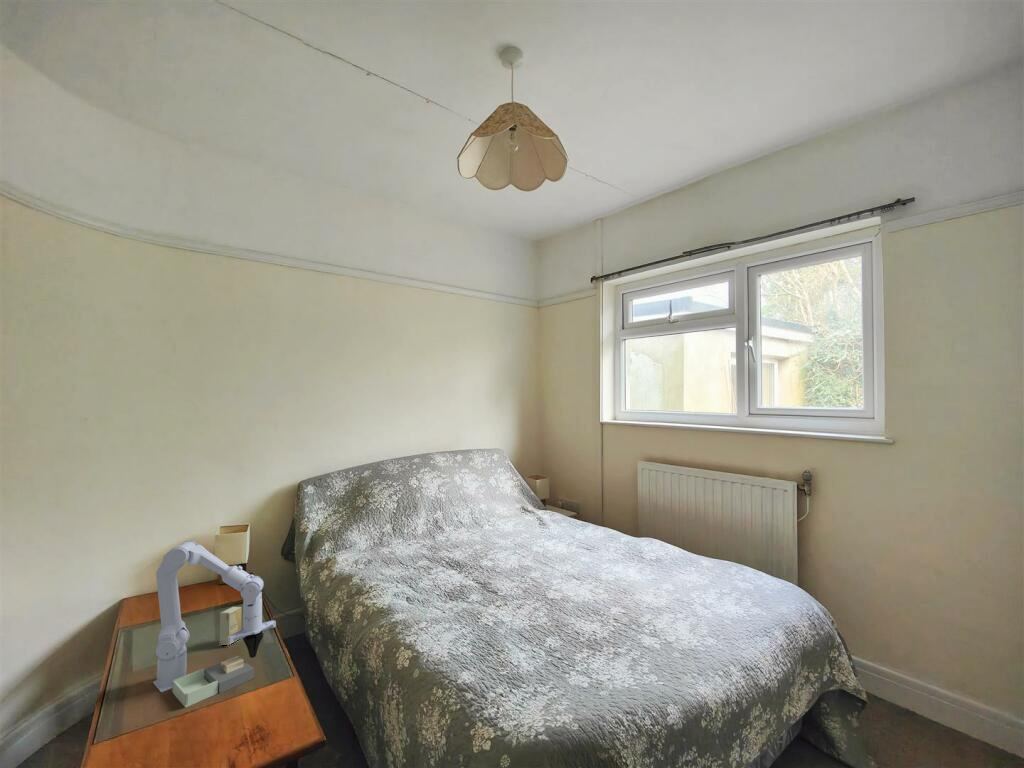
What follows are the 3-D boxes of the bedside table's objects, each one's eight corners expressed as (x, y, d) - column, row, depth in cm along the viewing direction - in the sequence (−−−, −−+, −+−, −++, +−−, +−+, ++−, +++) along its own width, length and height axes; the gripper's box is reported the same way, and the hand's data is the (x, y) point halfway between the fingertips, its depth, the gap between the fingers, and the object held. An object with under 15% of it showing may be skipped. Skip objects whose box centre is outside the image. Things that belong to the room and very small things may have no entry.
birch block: (221, 668, 148) (221, 662, 148) (237, 661, 152) (237, 655, 152) (226, 673, 145) (226, 666, 145) (243, 666, 149) (243, 660, 149)
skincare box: (228, 647, 169) (228, 613, 170) (219, 646, 170) (219, 613, 171) (242, 638, 175) (242, 606, 176) (232, 638, 176) (232, 606, 177)
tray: (172, 692, 141) (172, 680, 141) (203, 679, 147) (203, 668, 148) (185, 707, 133) (185, 694, 133) (217, 693, 139) (217, 681, 139)
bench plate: (204, 678, 148) (204, 669, 148) (237, 665, 156) (237, 656, 156) (219, 693, 139) (219, 683, 139) (254, 678, 147) (254, 668, 147)
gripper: (233, 626, 146) (233, 669, 145) (279, 610, 157) (279, 650, 156) (225, 620, 151) (225, 663, 150) (270, 605, 162) (271, 645, 161)
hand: (252, 656), depth 153 cm, fingers closed
